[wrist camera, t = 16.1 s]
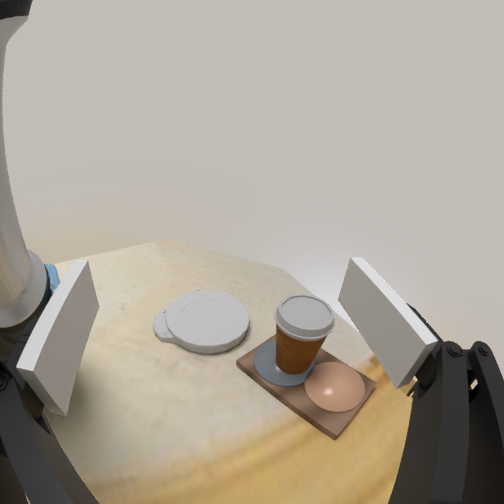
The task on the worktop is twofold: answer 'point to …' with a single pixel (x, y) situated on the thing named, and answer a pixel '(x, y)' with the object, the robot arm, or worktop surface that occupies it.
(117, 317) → the worktop surface
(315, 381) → the terracotta disc
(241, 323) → the lid
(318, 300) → the disposable coffee cup
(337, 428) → the walnut board
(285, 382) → the slate disc
